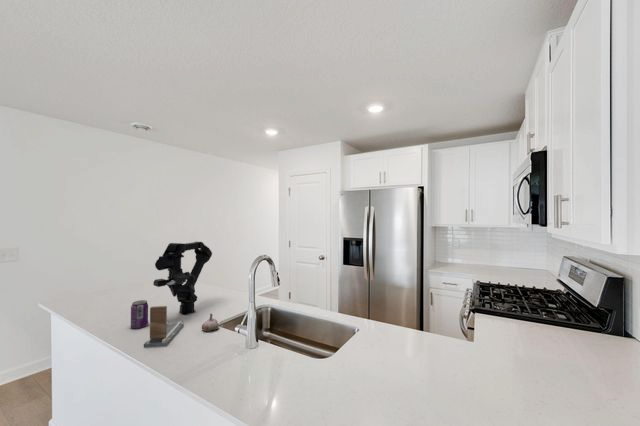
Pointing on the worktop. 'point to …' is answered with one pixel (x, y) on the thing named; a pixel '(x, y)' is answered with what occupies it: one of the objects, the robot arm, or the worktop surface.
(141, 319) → the beverage can
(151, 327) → the fader handle
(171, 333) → the fader track
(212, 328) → the garlic bulb
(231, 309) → the worktop surface
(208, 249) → the robot arm
